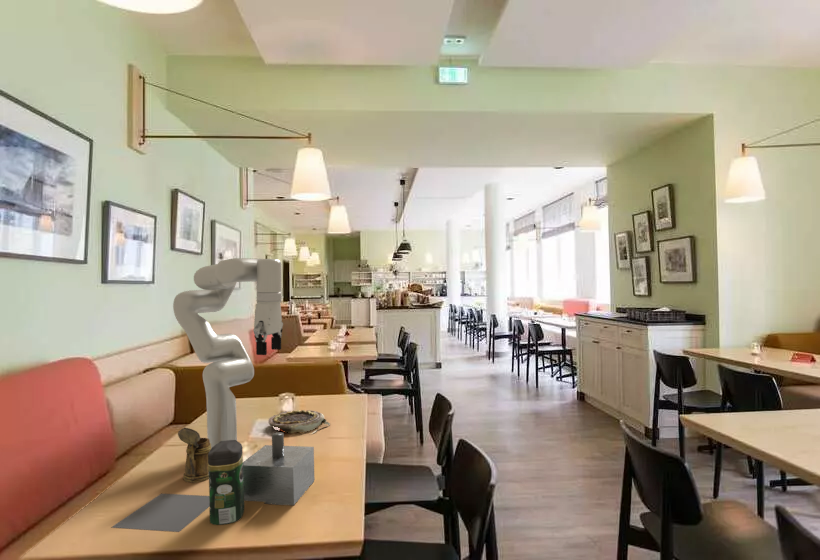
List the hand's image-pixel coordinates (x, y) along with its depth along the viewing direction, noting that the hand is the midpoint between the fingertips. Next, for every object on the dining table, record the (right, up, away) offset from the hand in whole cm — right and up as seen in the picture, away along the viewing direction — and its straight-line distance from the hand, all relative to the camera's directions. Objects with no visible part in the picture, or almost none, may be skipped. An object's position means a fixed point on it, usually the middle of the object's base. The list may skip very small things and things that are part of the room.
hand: (269, 352), depth 150 cm
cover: (+8, -37, -17) cm, 41 cm away
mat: (-17, -37, -28) cm, 50 cm away
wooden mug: (-19, -37, -9) cm, 43 cm away
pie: (-2, -37, +43) cm, 57 cm away
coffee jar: (-1, -37, -31) cm, 48 cm away
